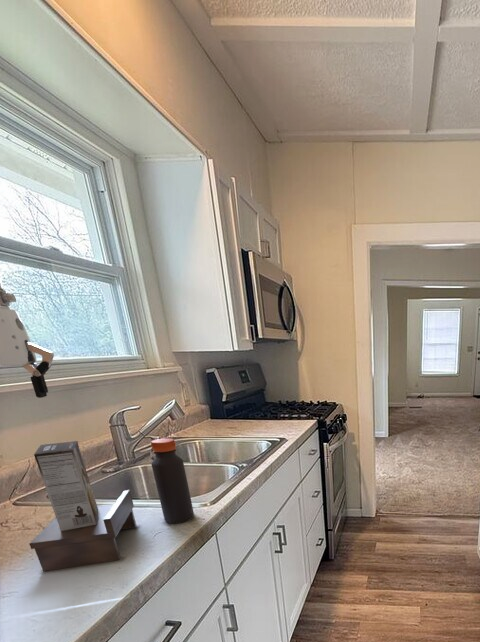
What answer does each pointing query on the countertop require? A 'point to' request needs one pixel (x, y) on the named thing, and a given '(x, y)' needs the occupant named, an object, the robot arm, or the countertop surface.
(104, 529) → the shelf
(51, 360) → the robot arm
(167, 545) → the countertop surface
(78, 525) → the coffee box
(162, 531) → the countertop surface
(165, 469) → the bottle
